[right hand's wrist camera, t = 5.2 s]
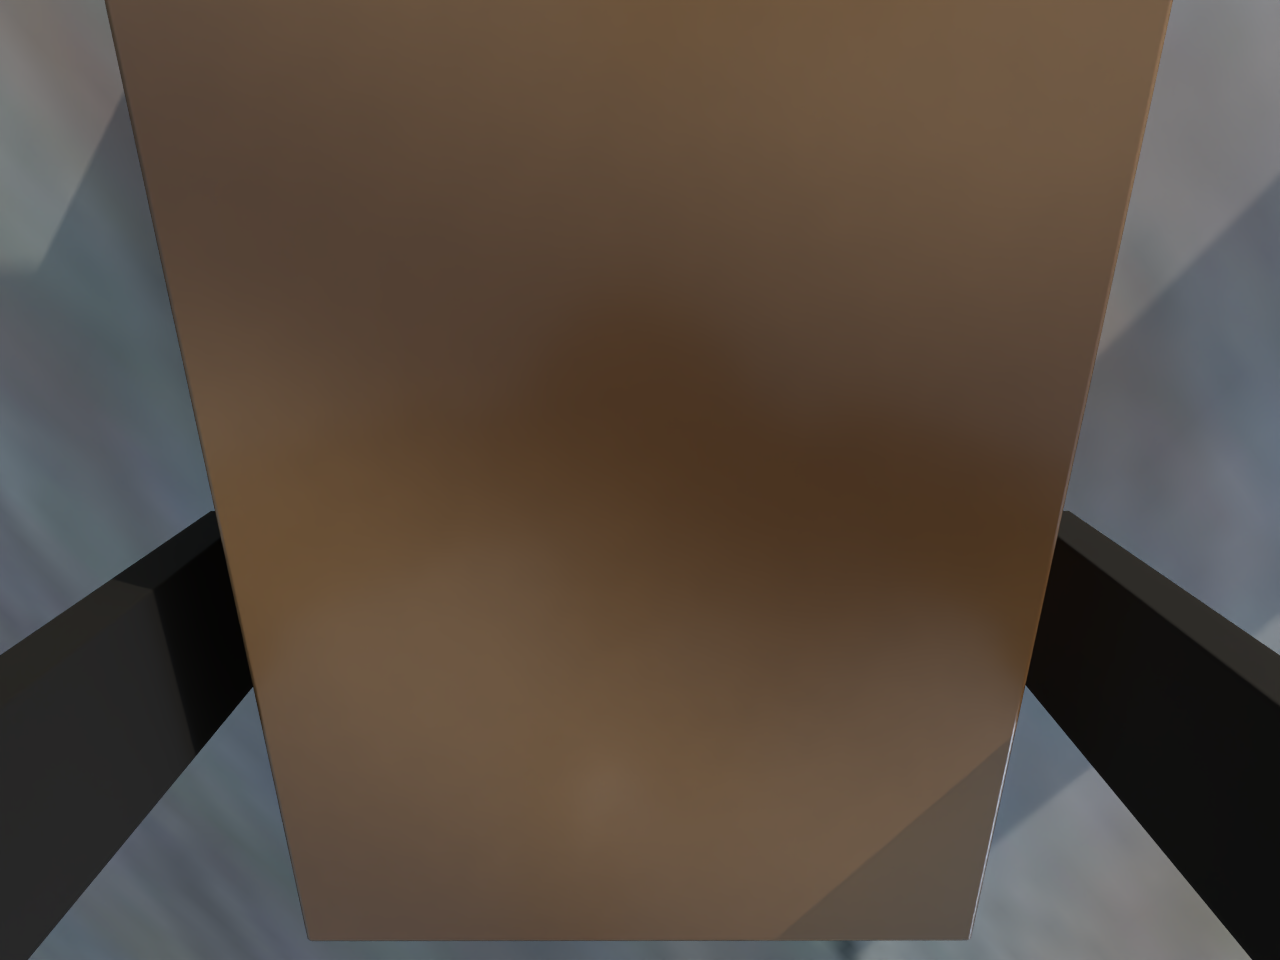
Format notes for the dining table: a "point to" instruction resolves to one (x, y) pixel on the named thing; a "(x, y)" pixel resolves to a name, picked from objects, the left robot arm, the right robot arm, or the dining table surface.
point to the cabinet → (638, 433)
